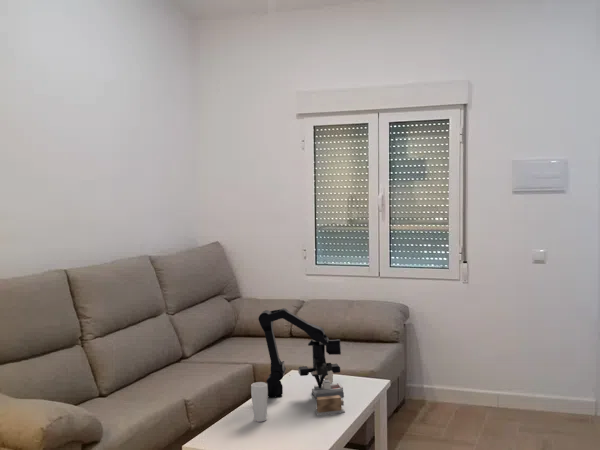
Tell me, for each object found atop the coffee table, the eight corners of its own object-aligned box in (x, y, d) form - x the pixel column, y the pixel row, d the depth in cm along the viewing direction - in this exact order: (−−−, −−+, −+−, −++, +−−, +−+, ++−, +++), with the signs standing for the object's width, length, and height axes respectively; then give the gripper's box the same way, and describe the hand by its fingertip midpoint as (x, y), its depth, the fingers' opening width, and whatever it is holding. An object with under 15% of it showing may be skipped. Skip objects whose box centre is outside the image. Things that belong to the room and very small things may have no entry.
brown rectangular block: (318, 412, 258) (318, 399, 258) (316, 409, 261) (316, 397, 261) (344, 409, 260) (343, 397, 260) (342, 407, 263) (341, 394, 263)
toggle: (324, 391, 279) (324, 382, 279) (322, 389, 283) (322, 380, 283) (330, 391, 280) (330, 382, 280) (328, 388, 284) (328, 379, 284)
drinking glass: (256, 424, 249) (254, 388, 248) (249, 419, 255) (248, 383, 254) (271, 420, 252) (270, 385, 251) (264, 415, 258) (263, 380, 257)
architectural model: (321, 385, 297) (321, 370, 297) (327, 381, 303) (327, 366, 303) (328, 386, 295) (328, 371, 295) (333, 382, 302) (333, 367, 301)
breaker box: (315, 399, 276) (315, 390, 276) (311, 392, 285) (311, 384, 285) (343, 396, 278) (343, 388, 278) (338, 390, 287) (338, 382, 287)
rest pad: (317, 415, 256) (317, 413, 256) (314, 410, 262) (314, 408, 262) (345, 412, 259) (344, 411, 259) (341, 407, 264) (341, 406, 264)
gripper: (301, 360, 270) (303, 395, 271) (342, 357, 274) (343, 391, 275) (297, 354, 281) (298, 387, 282) (336, 351, 285) (337, 384, 286)
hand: (319, 388), depth 281 cm, fingers closed
